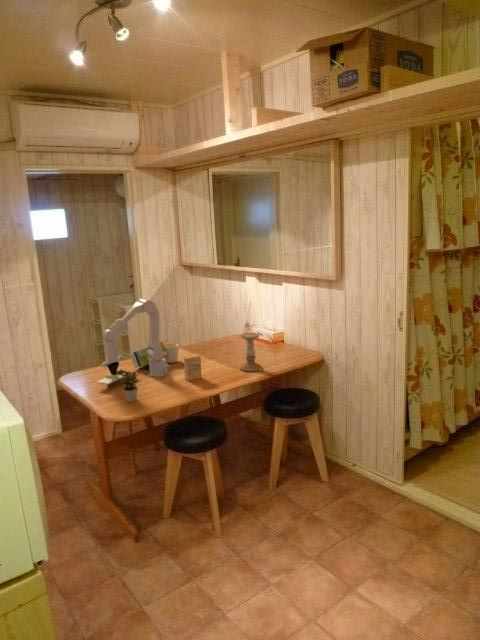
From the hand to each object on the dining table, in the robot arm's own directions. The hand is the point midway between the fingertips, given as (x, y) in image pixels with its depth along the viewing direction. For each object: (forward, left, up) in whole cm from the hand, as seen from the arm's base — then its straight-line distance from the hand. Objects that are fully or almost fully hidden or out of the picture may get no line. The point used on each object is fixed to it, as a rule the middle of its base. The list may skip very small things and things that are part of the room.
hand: (113, 375), depth 257 cm
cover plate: (0, +3, -1) cm, 3 cm away
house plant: (-21, +15, -5) cm, 26 cm away
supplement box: (-36, -23, -5) cm, 43 cm away
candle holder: (-59, -49, -5) cm, 77 cm away
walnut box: (0, -6, -5) cm, 7 cm away
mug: (-6, -45, -5) cm, 45 cm away
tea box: (+7, -32, 0) cm, 33 cm away
